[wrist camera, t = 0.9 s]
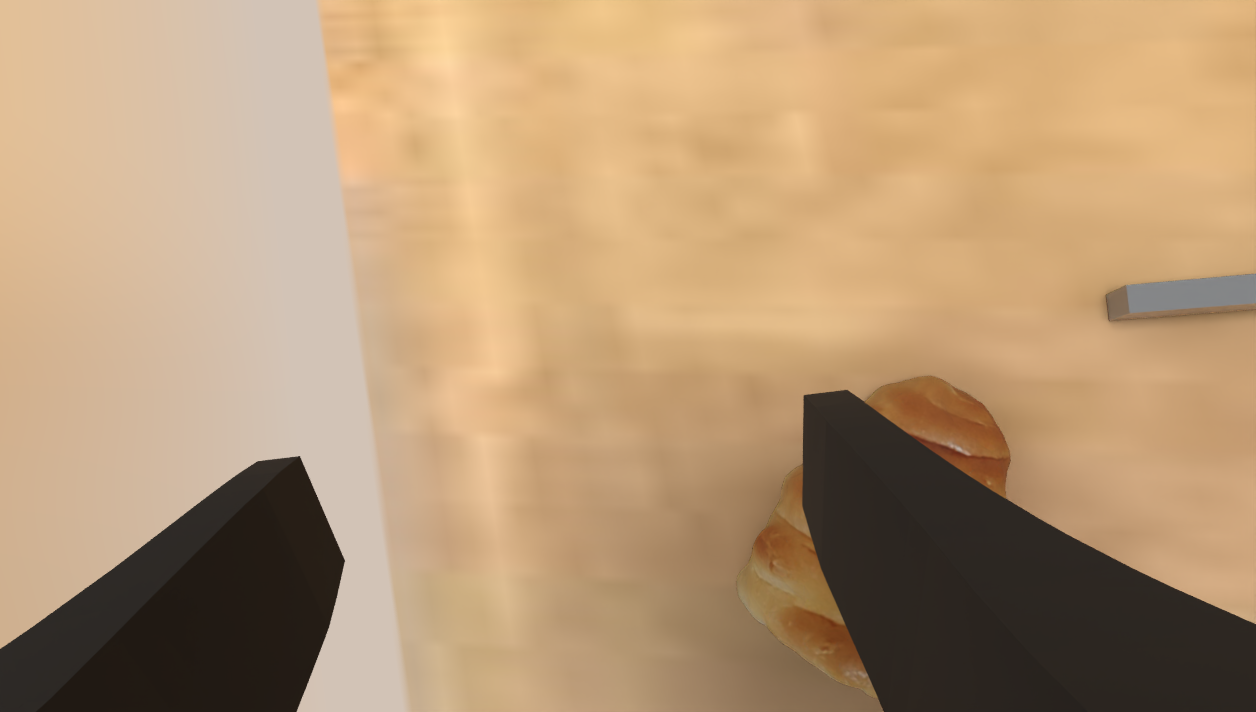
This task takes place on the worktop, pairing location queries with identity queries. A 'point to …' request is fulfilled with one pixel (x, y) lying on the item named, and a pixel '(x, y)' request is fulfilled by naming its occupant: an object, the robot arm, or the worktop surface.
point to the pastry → (784, 552)
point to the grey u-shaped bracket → (1183, 297)
